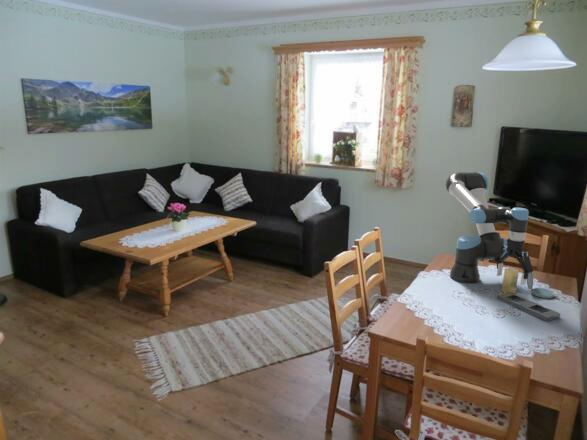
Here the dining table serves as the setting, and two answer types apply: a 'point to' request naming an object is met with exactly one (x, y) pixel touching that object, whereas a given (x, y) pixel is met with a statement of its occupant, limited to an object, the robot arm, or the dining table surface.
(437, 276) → the dining table surface
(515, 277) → the brass block
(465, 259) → the robot arm
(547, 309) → the panel
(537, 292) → the pocket watch
